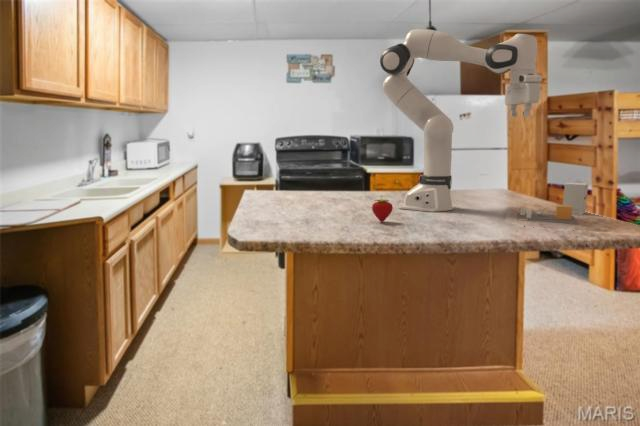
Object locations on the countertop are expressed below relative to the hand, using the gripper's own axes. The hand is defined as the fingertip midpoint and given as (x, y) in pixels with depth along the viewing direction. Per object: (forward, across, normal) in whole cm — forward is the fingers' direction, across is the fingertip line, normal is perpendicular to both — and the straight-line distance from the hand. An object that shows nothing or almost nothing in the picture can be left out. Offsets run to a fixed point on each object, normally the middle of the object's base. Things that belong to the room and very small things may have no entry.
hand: (519, 116), depth 186 cm
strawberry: (+38, +9, -54) cm, 67 cm away
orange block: (+37, +11, +14) cm, 41 cm away
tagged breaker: (+37, +11, +1) cm, 39 cm away
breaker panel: (+38, +11, +7) cm, 40 cm away
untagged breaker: (+37, +5, +1) cm, 37 cm away
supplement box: (+38, +1, +25) cm, 46 cm away
